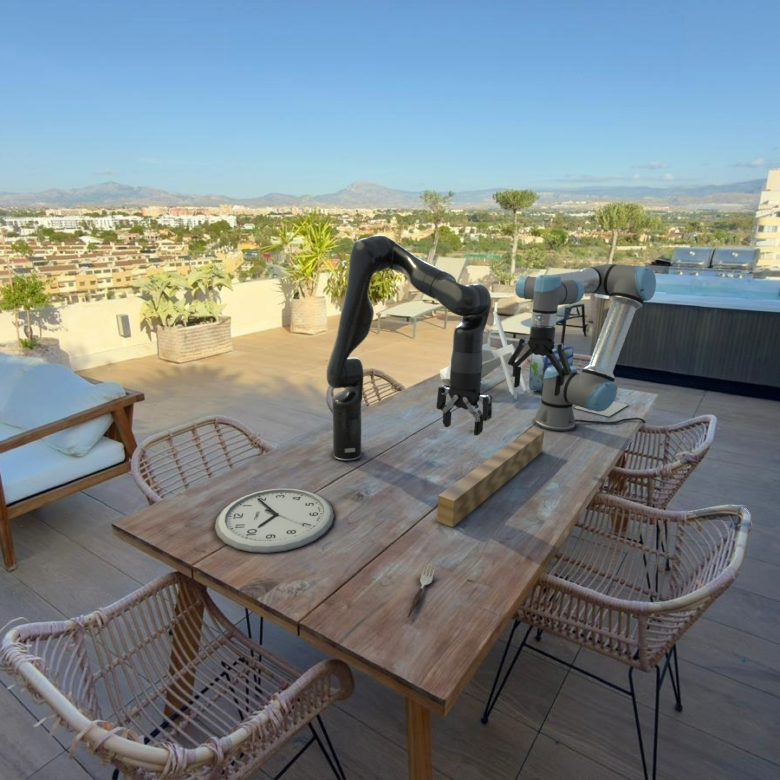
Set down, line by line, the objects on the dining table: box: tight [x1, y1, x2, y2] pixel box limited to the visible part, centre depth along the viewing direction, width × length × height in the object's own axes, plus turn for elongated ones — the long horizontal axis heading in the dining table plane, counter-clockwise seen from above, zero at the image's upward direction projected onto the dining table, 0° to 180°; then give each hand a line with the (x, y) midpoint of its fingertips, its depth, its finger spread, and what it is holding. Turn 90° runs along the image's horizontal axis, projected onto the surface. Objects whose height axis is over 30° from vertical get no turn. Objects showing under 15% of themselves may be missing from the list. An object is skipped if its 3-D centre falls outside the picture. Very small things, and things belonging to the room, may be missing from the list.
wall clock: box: [214, 488, 335, 554], centre depth 135 cm, size 30×2×30 cm
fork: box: [407, 563, 436, 618], centre depth 108 cm, size 3×16×2 cm, turn 160°
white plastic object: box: [438, 310, 531, 400], centre depth 245 cm, size 37×45×31 cm
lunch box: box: [528, 345, 574, 393], centre depth 247 cm, size 26×11×21 cm, turn 134°
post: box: [436, 427, 545, 528], centre depth 157 cm, size 60×5×8 cm, turn 143°
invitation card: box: [573, 400, 629, 418], centre depth 226 cm, size 21×1×15 cm
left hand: (462, 430), depth 132 cm, fingers open, 8 cm apart
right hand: (536, 390), depth 169 cm, fingers open, 13 cm apart
